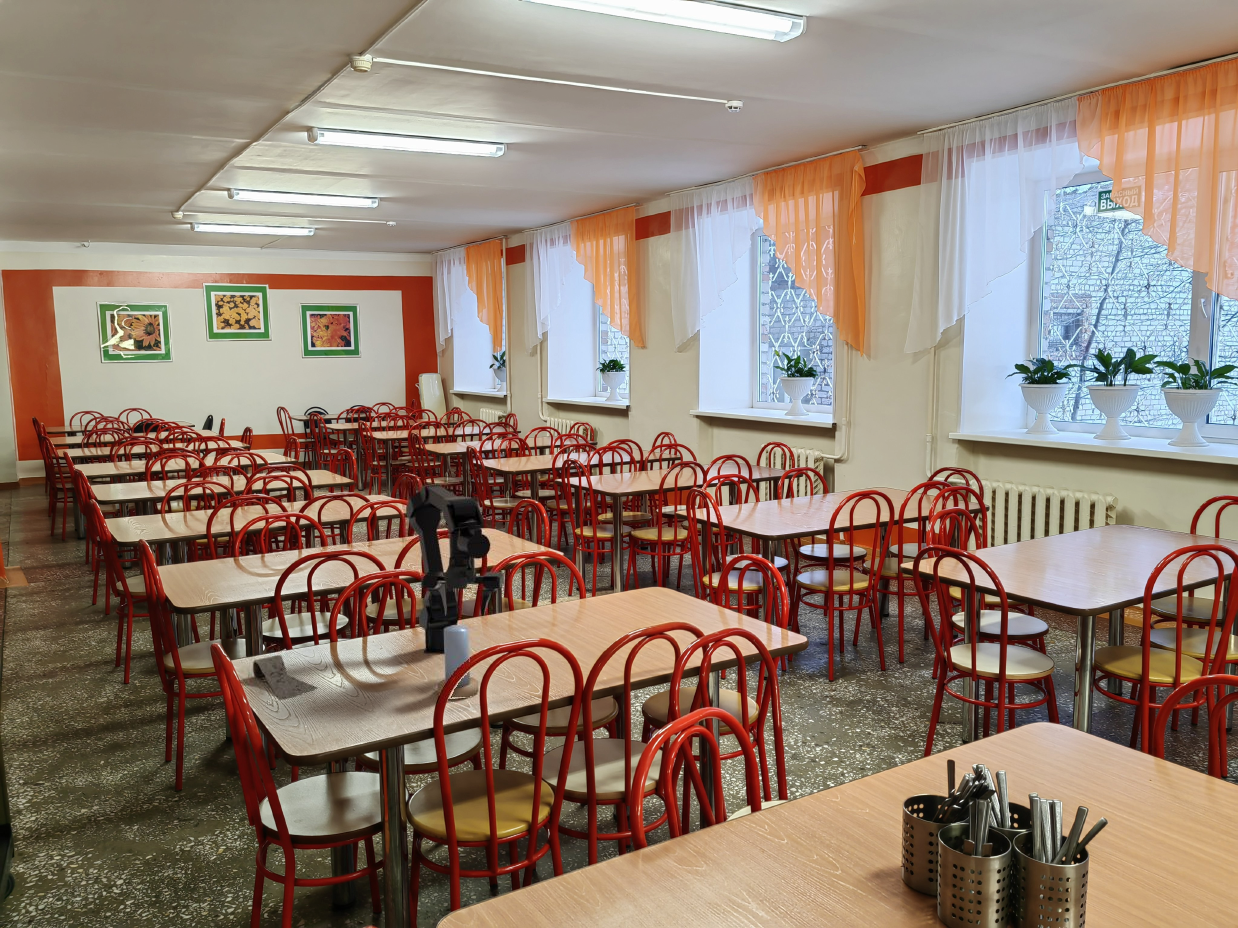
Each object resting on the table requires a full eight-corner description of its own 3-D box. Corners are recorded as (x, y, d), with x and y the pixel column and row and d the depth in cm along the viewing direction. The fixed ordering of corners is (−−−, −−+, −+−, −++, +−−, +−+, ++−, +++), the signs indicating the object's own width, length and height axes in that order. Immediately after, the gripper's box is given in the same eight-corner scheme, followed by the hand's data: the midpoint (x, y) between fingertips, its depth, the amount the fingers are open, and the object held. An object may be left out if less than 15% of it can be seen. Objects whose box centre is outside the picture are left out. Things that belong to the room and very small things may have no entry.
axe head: (325, 683, 210) (282, 694, 204) (325, 704, 212) (281, 716, 205) (287, 649, 225) (245, 658, 218) (287, 668, 226) (245, 678, 220)
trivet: (432, 699, 205) (432, 690, 205) (443, 684, 214) (442, 676, 213) (473, 699, 204) (473, 690, 204) (482, 685, 213) (482, 676, 213)
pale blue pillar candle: (446, 688, 206) (444, 633, 204) (444, 680, 211) (443, 626, 209) (470, 686, 207) (469, 631, 205) (469, 678, 212) (467, 624, 211)
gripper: (413, 558, 214) (416, 624, 216) (494, 558, 213) (496, 625, 215) (426, 548, 225) (428, 611, 227) (503, 548, 224) (505, 612, 226)
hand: (464, 615), depth 223 cm, fingers open, 9 cm apart
